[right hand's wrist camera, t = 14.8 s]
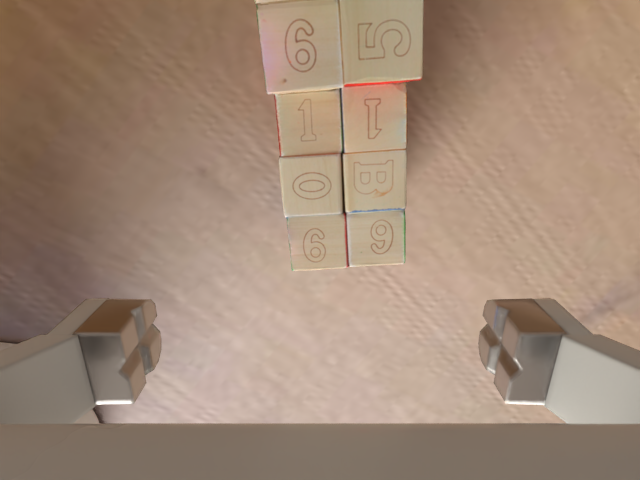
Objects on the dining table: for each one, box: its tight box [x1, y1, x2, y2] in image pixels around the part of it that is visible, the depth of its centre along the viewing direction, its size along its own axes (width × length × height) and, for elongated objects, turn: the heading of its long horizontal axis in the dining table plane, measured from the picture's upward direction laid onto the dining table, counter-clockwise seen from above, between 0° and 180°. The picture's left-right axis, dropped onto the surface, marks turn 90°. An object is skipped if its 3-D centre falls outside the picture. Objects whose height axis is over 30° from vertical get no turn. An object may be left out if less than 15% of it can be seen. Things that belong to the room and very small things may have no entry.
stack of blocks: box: [255, 0, 424, 271], centre depth 21 cm, size 21×6×12 cm, turn 3°
